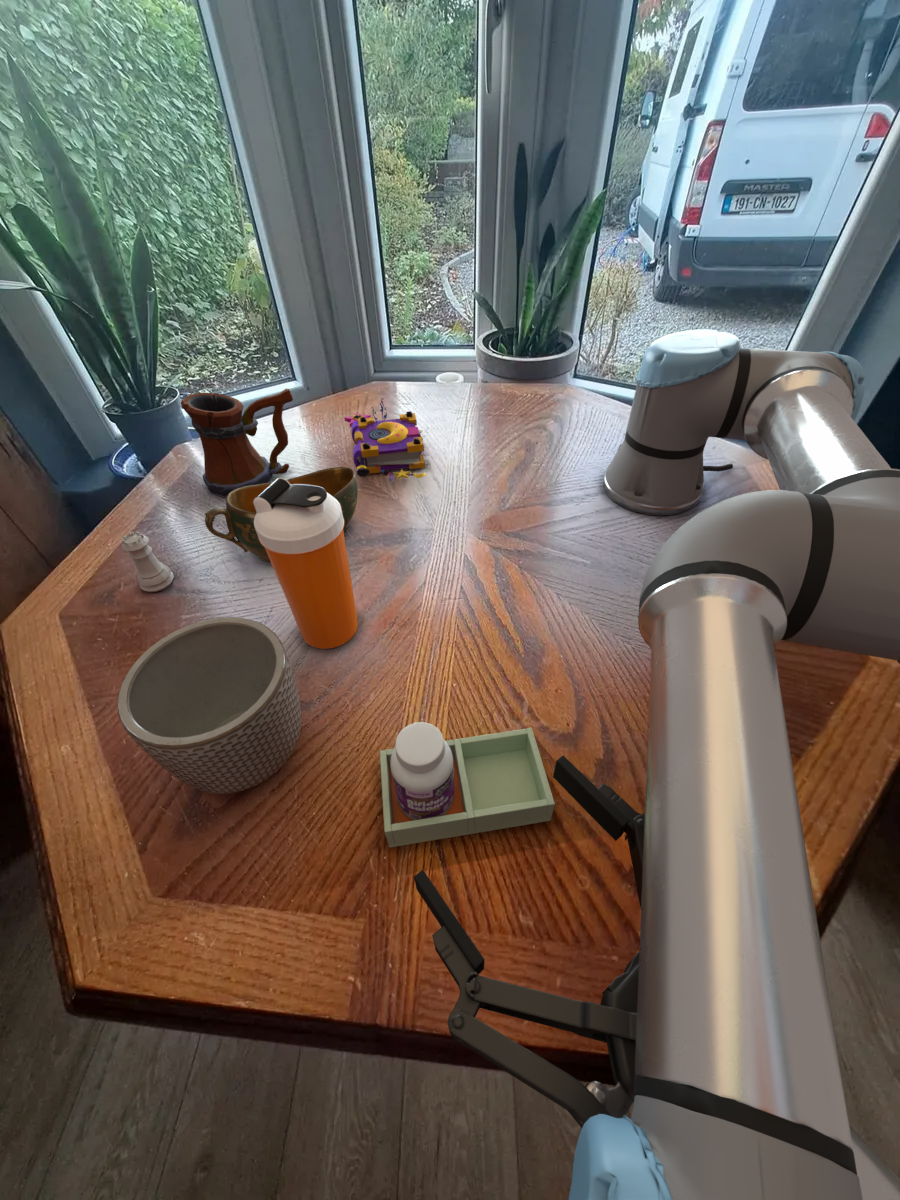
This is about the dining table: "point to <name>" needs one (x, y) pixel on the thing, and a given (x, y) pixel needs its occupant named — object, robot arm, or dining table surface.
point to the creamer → (241, 499)
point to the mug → (235, 439)
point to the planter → (214, 704)
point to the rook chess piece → (147, 563)
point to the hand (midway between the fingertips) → (493, 818)
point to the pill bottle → (422, 772)
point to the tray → (478, 790)
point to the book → (386, 444)
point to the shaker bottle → (309, 559)
